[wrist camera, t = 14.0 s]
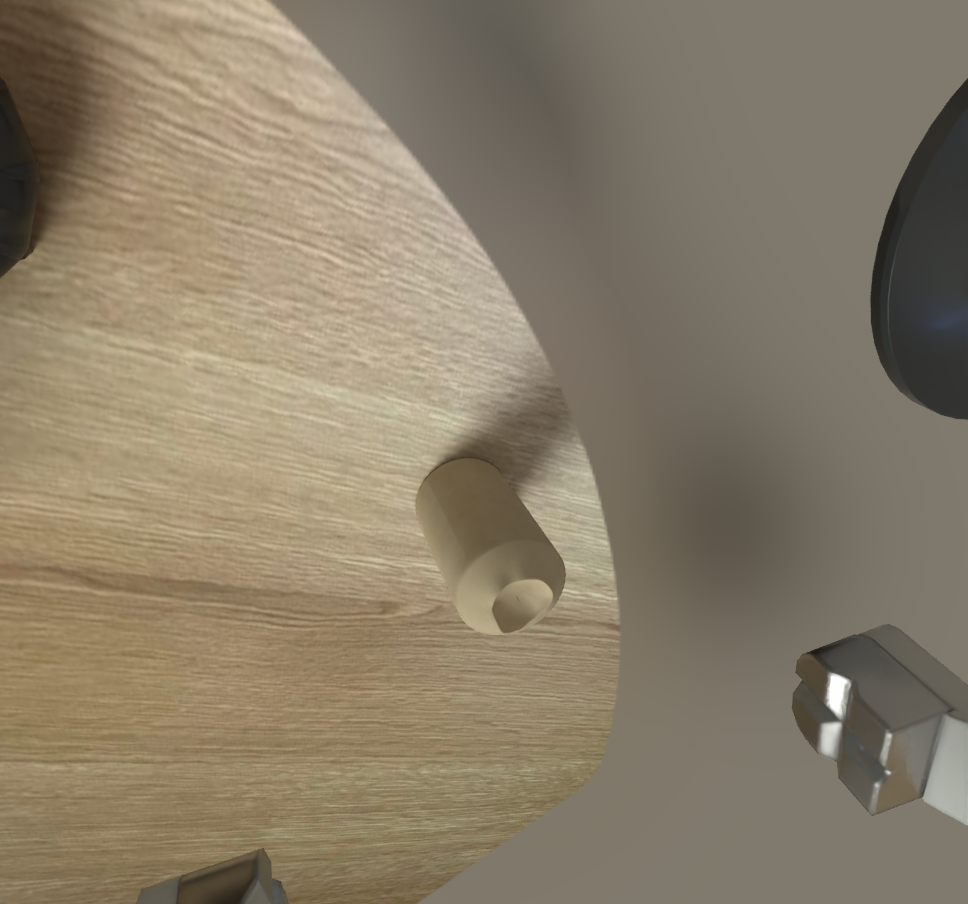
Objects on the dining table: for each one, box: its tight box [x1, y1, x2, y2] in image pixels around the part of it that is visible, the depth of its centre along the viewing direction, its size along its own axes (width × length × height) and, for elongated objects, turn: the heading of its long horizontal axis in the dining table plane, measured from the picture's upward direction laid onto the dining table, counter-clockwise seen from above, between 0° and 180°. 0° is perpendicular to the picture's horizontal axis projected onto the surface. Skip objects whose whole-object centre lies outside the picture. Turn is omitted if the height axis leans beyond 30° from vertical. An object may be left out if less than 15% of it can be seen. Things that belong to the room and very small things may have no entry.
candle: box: [416, 458, 566, 635], centre depth 36 cm, size 6×6×10 cm
